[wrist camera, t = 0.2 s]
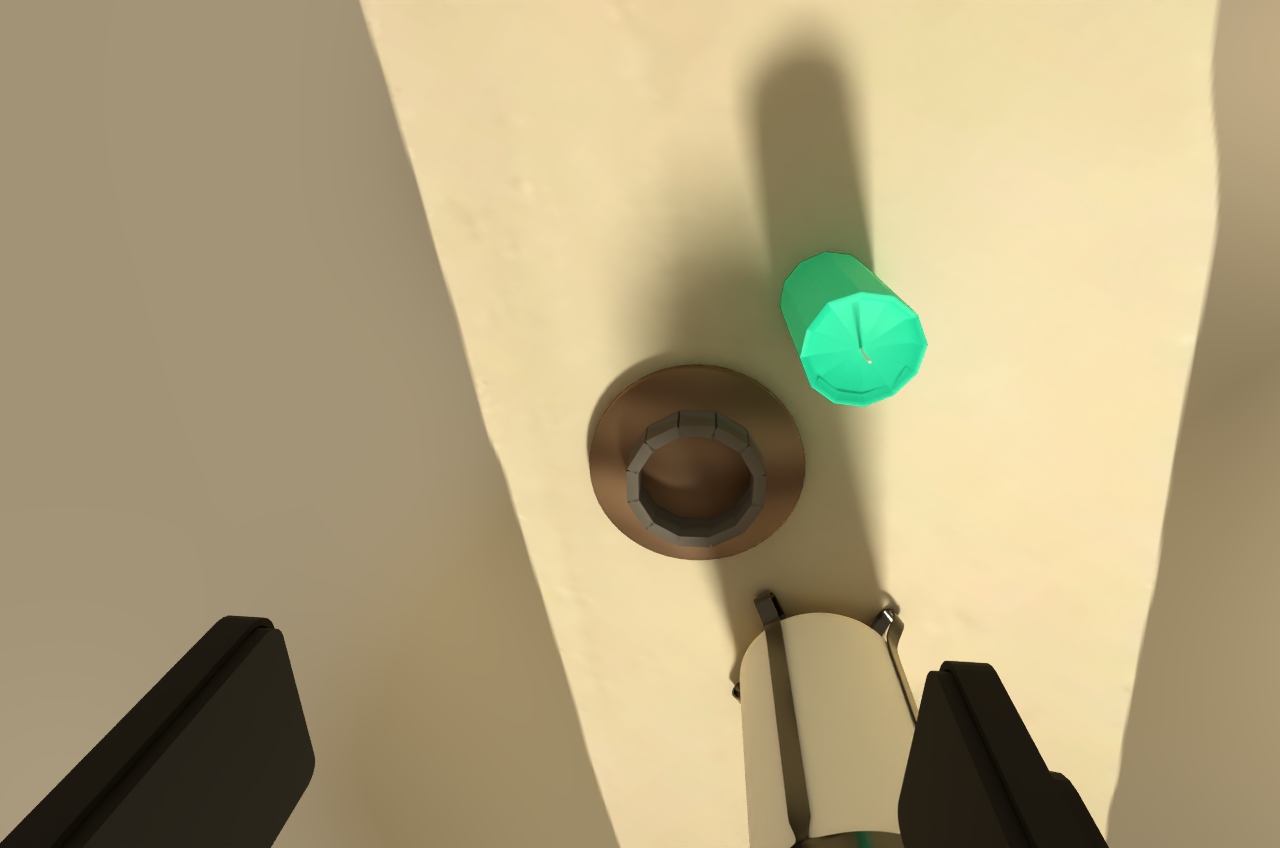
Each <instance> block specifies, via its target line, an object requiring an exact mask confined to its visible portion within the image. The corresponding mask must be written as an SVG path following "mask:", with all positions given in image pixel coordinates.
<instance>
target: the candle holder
mask: <svg viewBox="0 0 1280 848" xmlns="http://www.w3.org/2000/svg"><path fill="white" fill-rule="evenodd" d="M590 476H591V482H592V486H593V489H594V493H595V495H596V497H597V500H598V502H599V504H600V506H601V507H602V509H603V511H604V513H605V514H606V515H607V517H608V518H609V519H610V520H611V522H612V523H613V524H614V525H615V526H616V527H617V528H618V529H619V530H620V531H621V532H622V533H623V534H625V535H626V536H627V537H629V538H630V539H631V540H633V541H634V542H636V543H638V544H639V545H641V546H643V547H645V548H647V549H649V550H651V551H653V552H656V553H659V554H662V555H665V556H669V557H674V558H679V559H687V560H710V559H719V558H723V557H728V556H732V555H735V554H738V553H740V552H743V551H746V550H748V549H750V548H752V547H754V546H756V545H758V544H759V543H761V542H762V541H764V540H765V539H767V538H768V537H769V536H770V535H772V534H773V533H774V532H775V531H776V530H777V529H778V528H779V527H780V526H781V525H782V524H783V523H784V522H785V521H786V519H787V518H788V516H789V515H790V514H791V512H792V511H793V509H794V507H795V505H796V503H797V501H798V499H799V496H800V493H801V490H802V487H803V482H804V476H805V457H804V449H803V446H802V442H801V439H800V435H799V432H798V429H797V427H796V425H795V422H794V420H793V418H792V417H791V415H790V414H789V412H788V410H787V409H786V407H785V406H784V405H783V404H782V403H781V401H780V400H779V399H778V398H777V397H776V396H775V395H774V394H773V393H771V392H770V391H769V390H768V389H767V388H766V387H764V386H763V385H761V384H760V383H758V382H757V381H755V380H753V379H751V378H749V377H747V376H745V375H743V374H741V373H738V372H735V371H732V370H729V369H726V368H721V367H716V366H708V365H683V366H677V367H671V368H667V369H664V370H660V371H657V372H654V373H652V374H650V375H648V376H645V377H643V378H641V379H640V380H638V381H637V382H635V383H633V384H632V385H630V386H629V387H628V388H627V389H625V390H624V391H623V392H622V393H620V394H619V396H618V397H617V398H616V399H615V400H614V401H613V402H612V403H611V404H610V406H609V407H608V409H607V410H606V411H605V413H604V415H603V416H602V418H601V420H600V422H599V424H598V427H597V430H596V433H595V436H594V439H593V442H592V446H591V452H590Z"/></svg>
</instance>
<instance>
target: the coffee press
mask: <svg viewBox="0 0 1280 848" xmlns="http://www.w3.org/2000/svg"><path fill="white" fill-rule="evenodd" d="M754 602H755V606H756V608H757V610H758V613H759V615H760V617H761V620H762V622H763V625H764V628H765V630H764V631H763V632H762V633H761V634H759V635H758V636H757V637H756V638H755V640H754V641H753V642H752V643H751V645H750V646H749V648H748V649H747V651H746V653H745V655H744V657H743V660H742V663H741V668H740V682H739V683H737V684H736V685H735V687H734V688H733V691H732V695H733V696H734V697H735V698H736V700H737V701H738V702H739V703H740V704H741V714H742V731H743V747H744V763H745V779H746V795H747V811H748V827H749V843H750V848H904V845H903V841H902V838H901V834H900V830H899V824H898V801H899V796H900V792H901V788H902V783H903V779H904V774H905V770H906V766H907V761H908V757H909V752H910V748H911V744H912V739H913V735H914V730H915V726H916V722H917V717H918V713H919V711H918V709H917V706H916V703H915V700H914V698H913V695H912V692H911V689H910V687H909V684H908V681H907V678H906V675H905V673H904V670H903V667H902V664H901V661H900V658H899V655H898V651H897V646H898V642H899V639H900V636H901V634H902V631H903V629H904V623H903V622H902V621H901V619H900V618H899V617H898V615H897V614H896V613H895V612H894V610H892V609H885V610H883V611H881V612H880V613H879V614H878V615H877V617H876V619H875V620H874V622H873V624H872V625H871V626H870V627H869V626H867V625H865V624H864V623H862V622H860V621H857V620H855V619H852V618H849V617H846V616H842V615H838V614H832V613H807V614H801V615H796V616H792V617H789V618H787V616H786V615H785V613H784V611H783V609H782V608H781V606H780V604H779V602H778V600H777V598H776V596H775V595H774V594H773V593H772V592H771V591H768V592H766V593H764V594H762V595H761V596H759V597H757V598H755V599H754ZM889 625H890V626H889ZM888 626H889V629H888V632H887V642H886V641H885V640H884V639H883V638H882V635H883V634H884V632H885V630H886V629H887V627H888Z"/></svg>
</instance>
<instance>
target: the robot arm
mask: <svg viewBox="0 0 1280 848" xmlns="http://www.w3.org/2000/svg"><path fill="white" fill-rule="evenodd" d="M314 767H315V756H314V752H313V748H312V744H311V740H310V736H309V733H308V729H307V725H306V721H305V717H304V714H303V710H302V706H301V702H300V699H299V694H298V691H297V687H296V683H295V679H294V675H293V671H292V668H291V664H290V660H289V656H288V652H287V648H286V645H285V641H284V637H283V634H282V632H281V631H280V630H279V629H275V628H274V626H273V624H272V622H271V621H270V620H269V619H267V618H260V617H244V616H226V617H223V618H222V619H220V620H219V621H218V622H217V623H216V624H215V625H214V626H213V627H212V628H211V629H210V630H209V631H208V632H207V633H206V634H205V635H204V636H203V637H202V638H201V639H200V640H199V641H198V642H197V643H196V644H195V645H194V646H193V647H192V648H191V649H190V650H189V651H188V652H187V653H186V654H185V655H184V656H183V657H182V658H181V659H180V660H179V661H178V662H177V663H176V664H175V665H174V667H172V668H171V669H170V670H169V671H168V672H167V673H166V675H165V676H164V677H163V678H162V679H161V680H160V681H159V682H158V683H157V684H156V685H155V686H154V687H153V688H152V689H151V690H150V691H149V692H148V693H147V694H146V695H145V696H144V697H143V698H142V699H141V700H140V701H139V702H138V703H137V704H136V705H135V706H134V707H133V708H132V709H131V710H130V711H129V712H128V713H127V714H126V715H125V716H124V717H123V718H122V720H120V721H119V722H118V723H117V724H116V726H115V727H114V728H113V729H112V730H111V731H110V732H109V733H108V734H107V735H106V736H105V737H104V738H103V739H102V740H101V741H100V742H99V743H98V744H97V745H96V746H95V747H94V748H93V749H92V750H91V751H90V752H89V753H88V754H87V755H86V756H85V757H84V758H83V759H82V760H81V761H80V762H79V763H78V764H77V765H76V766H75V767H74V768H73V769H72V770H71V771H70V773H69V774H67V776H65V778H64V779H63V780H62V781H61V782H60V783H59V784H58V785H57V786H56V787H55V788H54V789H53V790H52V791H51V792H50V793H49V794H48V795H47V796H46V797H45V798H44V799H43V800H42V801H41V802H40V803H39V804H38V805H37V806H36V807H35V808H34V809H33V810H32V811H31V812H30V813H29V814H28V815H27V816H26V817H25V818H24V819H23V820H22V821H21V822H20V823H19V824H18V825H17V827H16V828H15V829H14V830H13V831H12V832H11V833H10V834H9V835H8V836H7V837H6V838H5V839H4V840H3V841H2V842H1V843H0V848H271V846H272V845H273V843H274V841H275V840H276V838H277V836H278V835H279V833H280V831H281V830H282V828H283V826H284V825H285V823H286V821H287V820H288V818H289V816H290V815H291V813H292V811H293V810H294V808H295V806H296V805H297V803H298V801H299V800H300V798H301V796H302V795H303V793H304V791H305V790H306V788H307V786H308V785H309V783H310V780H311V778H312V775H313V771H314ZM898 824H899V830H900V834H901V838H902V841H903V845H904V848H1109V847H1108V845H1107V843H1106V842H1105V840H1104V838H1103V836H1102V834H1101V833H1100V831H1099V829H1098V827H1097V826H1096V824H1095V822H1094V820H1093V818H1092V817H1091V815H1090V813H1089V811H1088V809H1087V808H1086V806H1085V804H1084V802H1083V801H1082V799H1081V797H1080V795H1079V793H1078V792H1077V790H1076V789H1075V788H1074V786H1073V785H1072V783H1071V782H1070V780H1068V779H1067V778H1066V777H1065V776H1064V775H1062V774H1061V773H1058V772H1053V771H1049V770H1048V768H1047V766H1046V764H1045V762H1044V760H1043V758H1042V757H1041V755H1040V753H1039V751H1038V749H1037V747H1036V745H1035V743H1034V742H1033V740H1032V738H1031V736H1030V734H1029V732H1028V730H1027V729H1026V727H1025V725H1024V723H1023V721H1022V719H1021V717H1020V715H1019V714H1018V712H1017V710H1016V708H1015V706H1014V704H1013V702H1012V701H1011V699H1010V697H1009V695H1008V693H1007V691H1006V689H1005V687H1004V686H1003V684H1002V682H1001V680H1000V678H999V676H998V674H997V673H996V671H995V670H994V668H993V667H992V666H991V665H990V664H988V663H974V662H958V661H944V662H943V663H942V665H941V667H940V670H939V671H930V672H929V673H928V675H927V678H926V682H925V686H924V691H923V695H922V700H921V704H920V708H919V713H918V717H917V722H916V726H915V730H914V735H913V739H912V744H911V748H910V752H909V757H908V761H907V766H906V770H905V774H904V779H903V783H902V788H901V792H900V796H899V801H898Z"/></svg>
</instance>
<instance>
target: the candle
mask: <svg viewBox="0 0 1280 848" xmlns="http://www.w3.org/2000/svg"><path fill="white" fill-rule="evenodd" d="M780 308H781V311H782V313H783V316H784V319H785V321H786V324H787V327H788V329H789V332H790V334H791V337H792V339H793V342H794V345H795V347H796V350H797V352H798V355H799V357H800V360H801V362H802V365H803V368H804V370H805V373H806V375H807V378H808V380H809V383H810V386H811V387H812V388H813V389H815V390H816V391H818V392H819V393H820V394H822V395H823V396H825V397H826V398H827V399H829V400H830V401H832V402H833V403H836V404H845V405H854V406H862V407H865V406H868V405H870V404H873V403H875V402H878V401H880V400H883V399H885V398H888V397H890V396H893V395H895V394H896V393H897V392H898V391H899V390H900V389H901V388H902V387H903V386H904V385H905V384H906V383H907V382H909V381H910V380H911V379H912V378H913V377H914V376H915V375H916V374H917V373H918V370H919V368H920V365H921V362H922V359H923V357H924V354H925V351H926V348H927V345H928V344H927V341H926V338H925V335H924V332H923V329H922V326H921V323H920V320H919V317H918V314H916V313H915V312H914V311H913V310H912V309H911V308H910V307H909V306H908V305H907V304H906V303H905V302H904V301H903V300H901V299H900V298H899V297H898V296H897V295H896V294H895V293H894V292H893V291H892V290H891V289H890V288H889V287H888V286H886V285H885V284H884V283H883V282H882V281H881V280H880V279H879V278H878V277H877V276H876V275H875V274H874V273H873V272H872V271H870V270H869V269H868V268H867V267H866V266H864V265H863V264H862V263H861V262H859V261H858V260H857V259H856V258H854V257H853V256H852V255H849V254H840V253H831V252H824V253H821V254H819V255H816V256H814V257H812V258H809V259H807V260H804V261H802V262H800V264H799V265H798V266H797V267H796V269H795V270H794V271H793V272H792V273H791V275H790V276H789V277H788V278H787V279H786V281H785V282H784V287H783V292H782V297H781V303H780Z"/></svg>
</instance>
